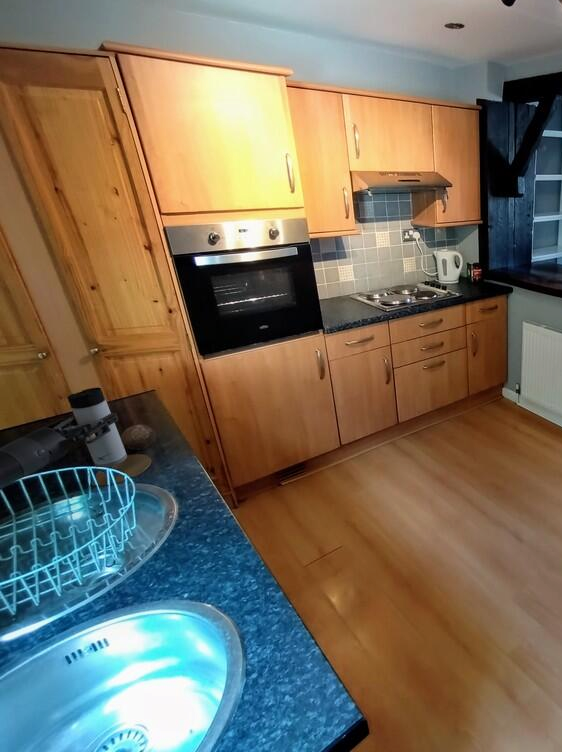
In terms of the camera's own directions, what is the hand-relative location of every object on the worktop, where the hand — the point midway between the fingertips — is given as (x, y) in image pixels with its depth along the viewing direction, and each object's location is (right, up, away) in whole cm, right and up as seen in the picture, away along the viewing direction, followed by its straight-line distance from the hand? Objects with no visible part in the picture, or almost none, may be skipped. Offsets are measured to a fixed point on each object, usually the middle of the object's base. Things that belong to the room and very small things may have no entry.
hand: (103, 415), depth 112 cm
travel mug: (0, -12, +3) cm, 12 cm away
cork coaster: (0, -15, +5) cm, 16 cm away
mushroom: (-3, -10, +16) cm, 19 cm away
